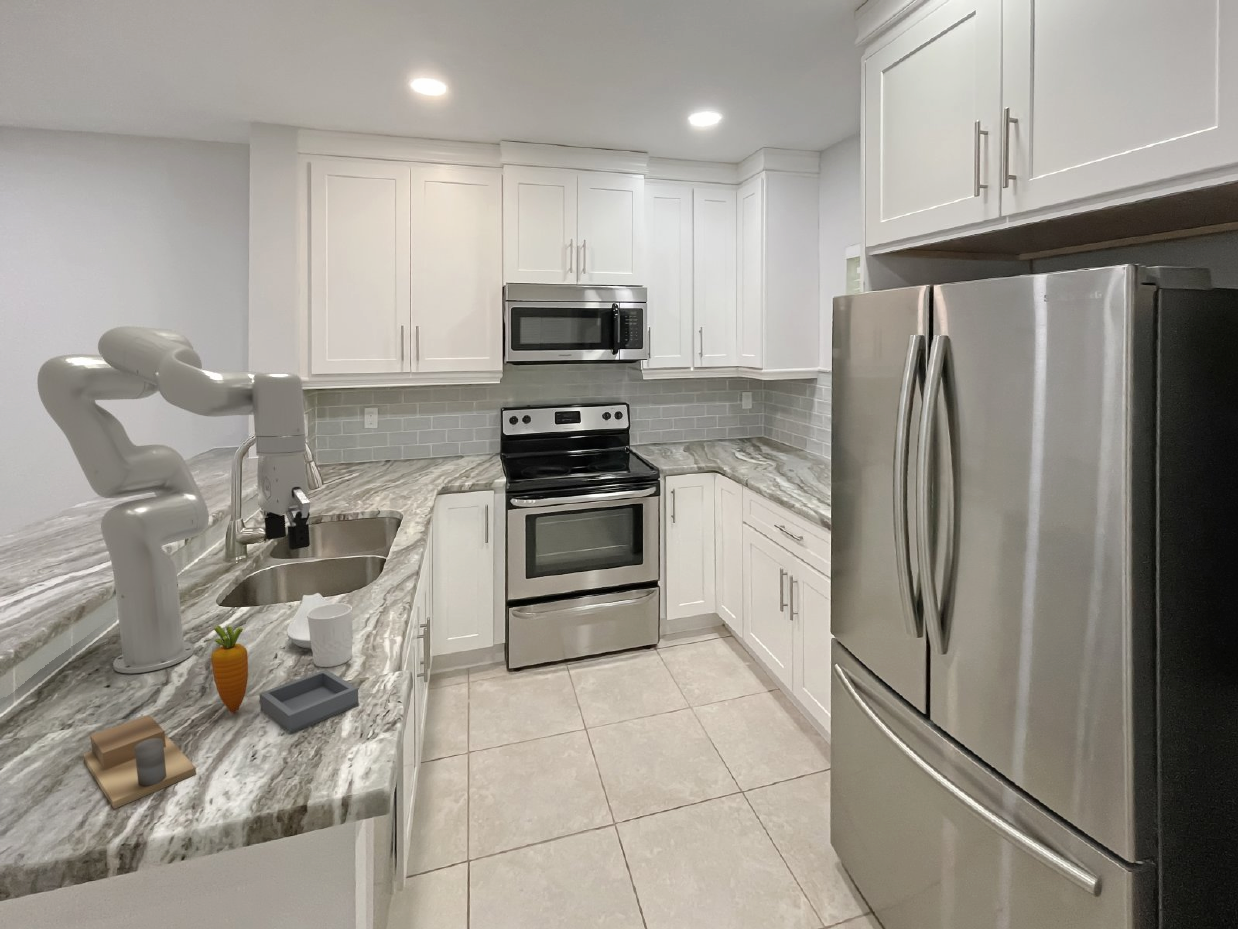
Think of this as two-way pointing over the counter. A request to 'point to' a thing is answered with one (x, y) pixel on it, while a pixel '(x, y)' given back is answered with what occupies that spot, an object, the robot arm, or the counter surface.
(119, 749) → the wooden rectangular block
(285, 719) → the tray
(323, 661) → the white cup
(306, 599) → the spoon rest
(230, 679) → the carrot
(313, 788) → the counter surface
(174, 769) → the board
